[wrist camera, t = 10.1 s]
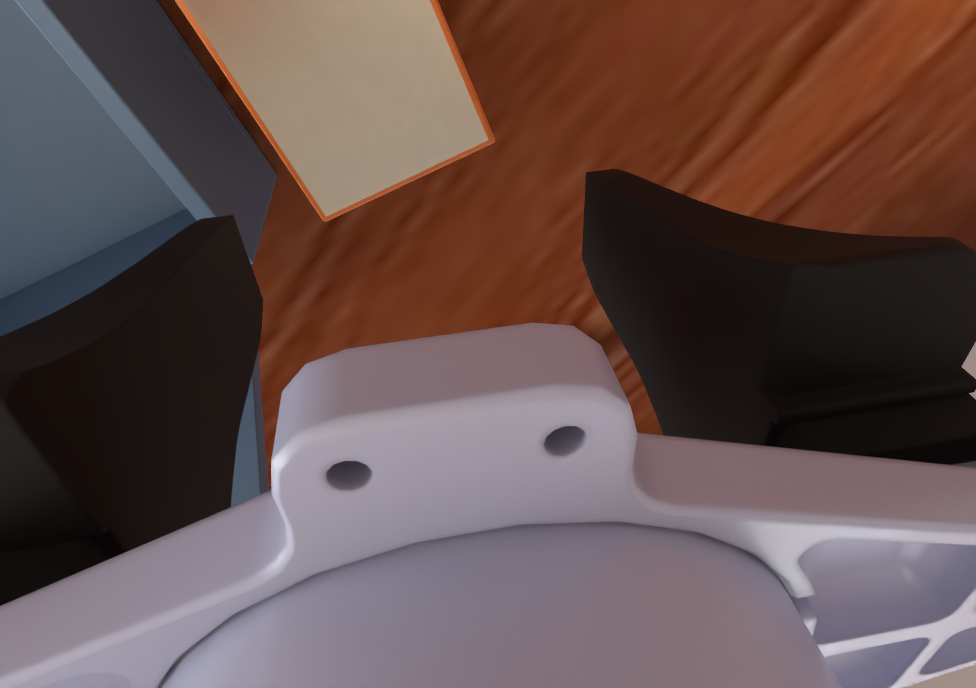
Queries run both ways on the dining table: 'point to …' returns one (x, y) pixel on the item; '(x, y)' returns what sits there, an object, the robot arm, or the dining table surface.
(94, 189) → the carton
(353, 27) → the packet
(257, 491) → the flap
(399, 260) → the dining table surface
